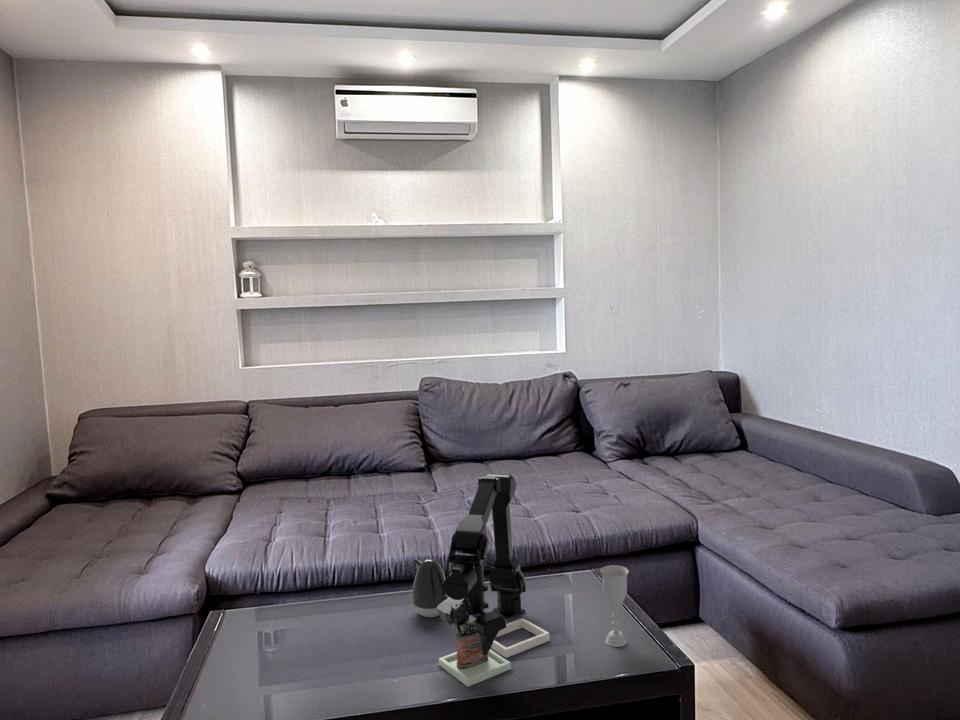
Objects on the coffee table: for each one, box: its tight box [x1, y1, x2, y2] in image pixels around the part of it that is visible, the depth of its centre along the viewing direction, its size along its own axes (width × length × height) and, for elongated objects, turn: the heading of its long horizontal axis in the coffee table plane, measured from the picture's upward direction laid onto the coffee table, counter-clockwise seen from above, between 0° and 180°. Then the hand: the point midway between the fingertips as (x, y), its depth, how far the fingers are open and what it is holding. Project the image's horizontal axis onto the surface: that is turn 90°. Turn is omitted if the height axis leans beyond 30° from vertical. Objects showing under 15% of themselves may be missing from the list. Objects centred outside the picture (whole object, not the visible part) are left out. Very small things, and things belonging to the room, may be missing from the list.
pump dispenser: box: [411, 558, 447, 618], centre depth 193 cm, size 10×10×15 cm
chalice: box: [600, 564, 629, 648], centre depth 173 cm, size 7×7×18 cm
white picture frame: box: [490, 617, 550, 659], centre depth 176 cm, size 11×14×2 cm
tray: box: [438, 648, 512, 687], centre depth 164 cm, size 12×12×2 cm
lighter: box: [455, 619, 488, 669], centre depth 164 cm, size 8×3×10 cm, turn 121°
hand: (473, 647), depth 164 cm, fingers open, 9 cm apart
